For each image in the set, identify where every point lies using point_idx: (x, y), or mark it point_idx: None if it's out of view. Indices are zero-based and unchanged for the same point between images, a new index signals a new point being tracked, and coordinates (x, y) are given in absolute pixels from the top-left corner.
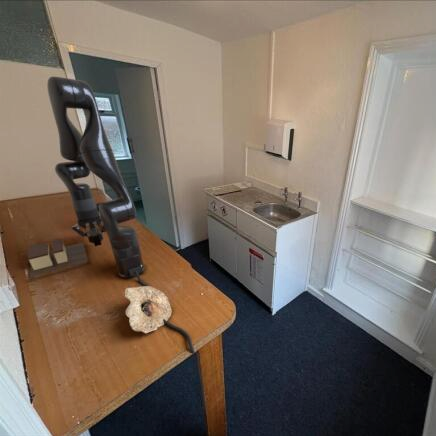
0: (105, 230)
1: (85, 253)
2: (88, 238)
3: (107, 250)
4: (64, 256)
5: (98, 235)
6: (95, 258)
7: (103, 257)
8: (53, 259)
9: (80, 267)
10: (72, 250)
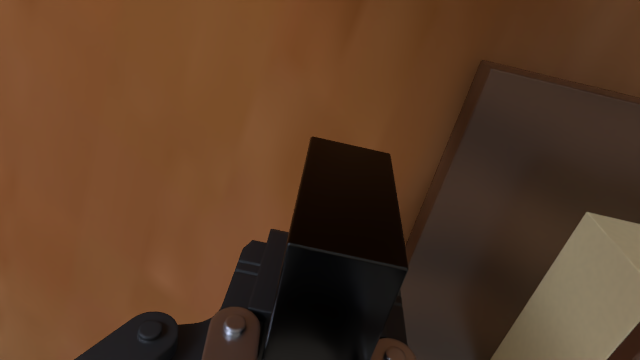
0: (128, 330)
1: (428, 231)
2: (401, 326)
3: (268, 180)
4: (628, 251)
5: (290, 240)
6: (396, 120)
7: (341, 81)
8: None
9: (562, 56)
10: (461, 337)
